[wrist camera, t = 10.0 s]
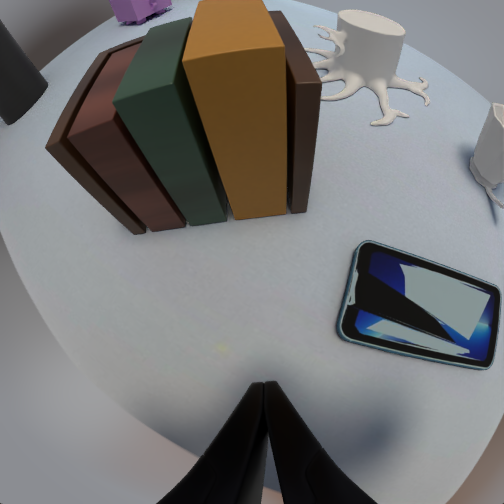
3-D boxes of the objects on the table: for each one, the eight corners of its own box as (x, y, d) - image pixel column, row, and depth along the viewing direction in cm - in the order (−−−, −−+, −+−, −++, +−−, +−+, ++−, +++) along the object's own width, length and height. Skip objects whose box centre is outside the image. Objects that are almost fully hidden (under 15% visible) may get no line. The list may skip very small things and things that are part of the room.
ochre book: (286, 214, 21) (285, 45, 8) (235, 220, 21) (181, 60, 8) (270, 125, 25) (258, -8, 12) (229, 131, 25) (198, 1, 12)
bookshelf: (306, 212, 21) (324, 64, 9) (133, 235, 22) (34, 137, 10) (285, 118, 25) (280, -1, 13) (147, 141, 26) (94, 44, 14)
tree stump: (268, 47, 31) (264, 1, 23) (378, 41, 31) (385, 3, 24) (335, 134, 24) (346, 65, 16) (460, 118, 24) (483, 74, 16)
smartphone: (491, 371, 14) (334, 337, 16) (485, 371, 15) (331, 338, 17) (502, 287, 16) (359, 235, 19) (495, 289, 17) (355, 240, 20)
